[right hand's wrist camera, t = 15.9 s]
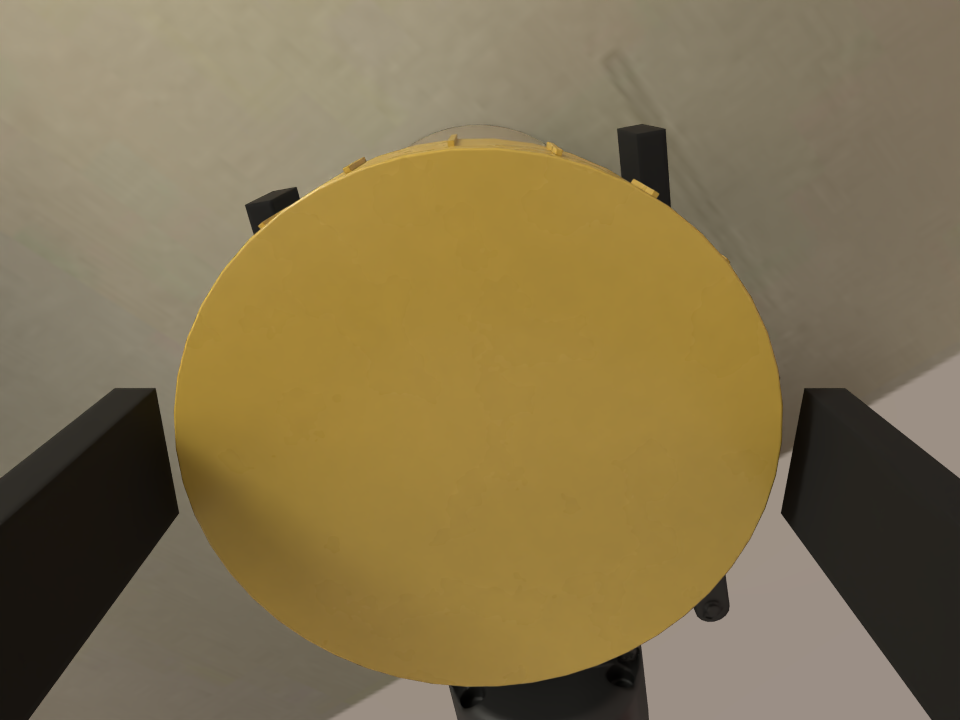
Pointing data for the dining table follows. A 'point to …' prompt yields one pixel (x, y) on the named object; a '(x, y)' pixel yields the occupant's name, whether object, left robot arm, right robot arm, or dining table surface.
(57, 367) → the dining table surface
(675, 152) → the dining table surface
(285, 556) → the lid
